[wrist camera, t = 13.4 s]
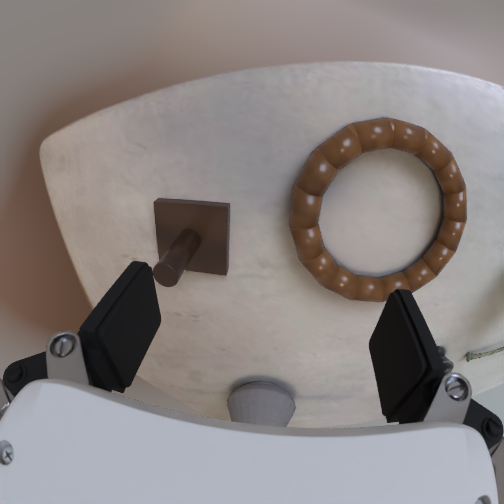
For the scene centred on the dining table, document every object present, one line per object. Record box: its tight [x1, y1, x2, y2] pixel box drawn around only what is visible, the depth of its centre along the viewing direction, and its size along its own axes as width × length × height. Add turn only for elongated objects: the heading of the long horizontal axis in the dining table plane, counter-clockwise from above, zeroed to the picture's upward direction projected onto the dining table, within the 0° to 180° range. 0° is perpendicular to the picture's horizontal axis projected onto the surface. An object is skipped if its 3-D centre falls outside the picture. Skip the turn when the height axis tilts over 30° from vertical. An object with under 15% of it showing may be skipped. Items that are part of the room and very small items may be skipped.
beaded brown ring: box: [289, 118, 467, 302], centre depth 25 cm, size 20×20×3 cm
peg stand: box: [153, 198, 230, 287], centre depth 26 cm, size 8×8×8 cm
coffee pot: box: [227, 382, 296, 427], centre depth 36 cm, size 21×12×15 cm, turn 95°
